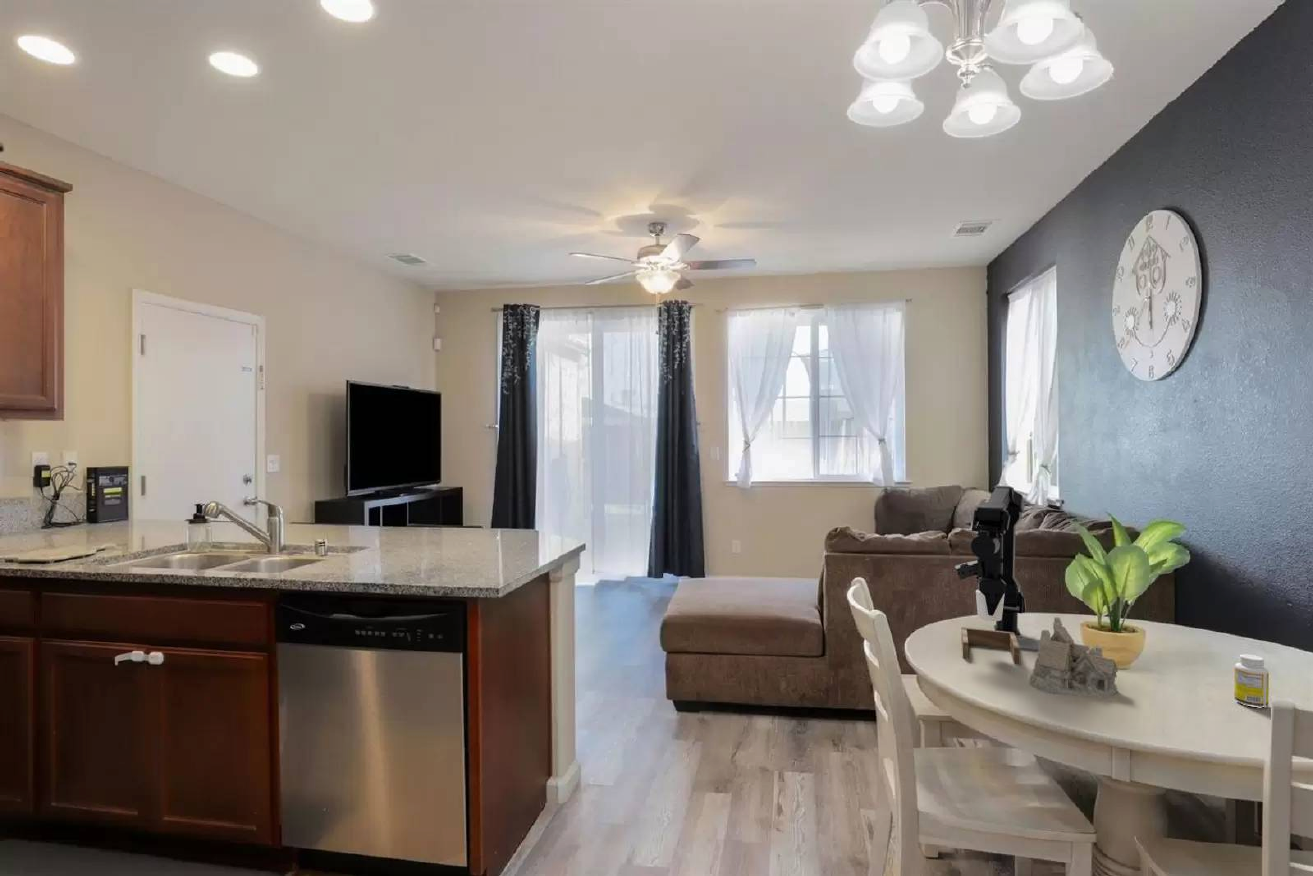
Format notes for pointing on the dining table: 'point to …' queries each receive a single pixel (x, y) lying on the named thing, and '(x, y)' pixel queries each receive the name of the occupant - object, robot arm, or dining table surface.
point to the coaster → (1028, 644)
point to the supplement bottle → (1251, 681)
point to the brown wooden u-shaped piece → (990, 640)
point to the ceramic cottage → (1072, 666)
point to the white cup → (983, 608)
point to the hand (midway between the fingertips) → (989, 612)
